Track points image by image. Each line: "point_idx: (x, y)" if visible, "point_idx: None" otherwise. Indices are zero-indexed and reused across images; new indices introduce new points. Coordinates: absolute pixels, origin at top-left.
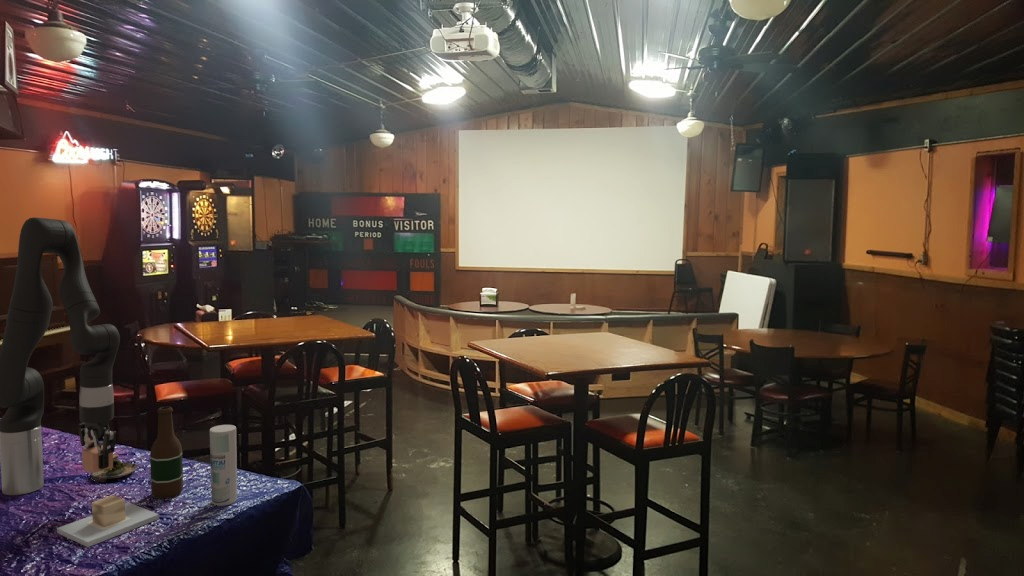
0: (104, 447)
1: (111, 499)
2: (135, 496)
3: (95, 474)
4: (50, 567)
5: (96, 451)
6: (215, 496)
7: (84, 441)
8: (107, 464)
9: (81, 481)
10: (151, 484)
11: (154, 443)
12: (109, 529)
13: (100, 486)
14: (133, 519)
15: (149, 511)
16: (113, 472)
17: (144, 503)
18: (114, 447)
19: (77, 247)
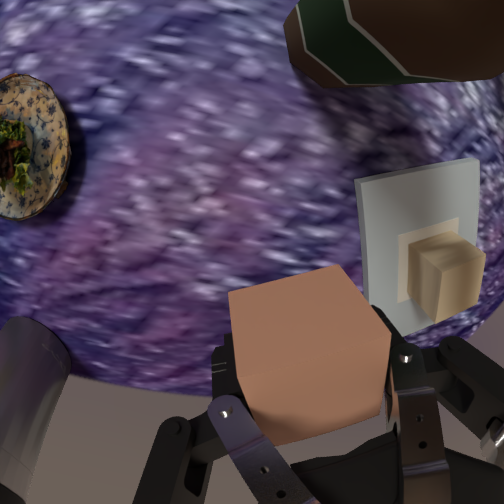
0: (466, 403)
1: (461, 281)
2: (280, 129)
3: (7, 202)
4: None
5: (353, 405)
6: None
7: (207, 469)
8: (379, 313)
9: (30, 240)
10: (342, 86)
11: (489, 49)
12: None
13: (96, 202)
14: (462, 215)
15: (455, 167)
16: (29, 154)
17: (363, 132)
18: (480, 353)
19: None
